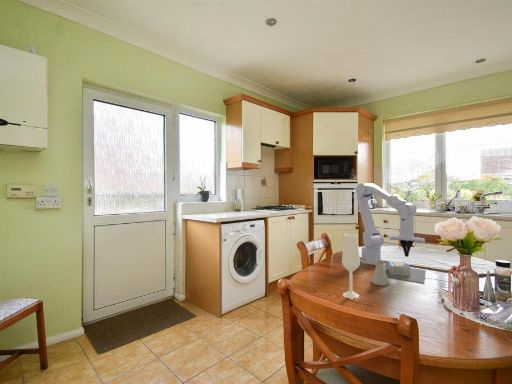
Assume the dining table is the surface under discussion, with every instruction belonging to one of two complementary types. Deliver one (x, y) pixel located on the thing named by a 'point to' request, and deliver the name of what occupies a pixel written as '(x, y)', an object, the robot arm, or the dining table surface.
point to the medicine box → (398, 268)
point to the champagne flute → (350, 260)
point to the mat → (415, 276)
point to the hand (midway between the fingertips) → (406, 256)
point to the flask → (379, 274)
